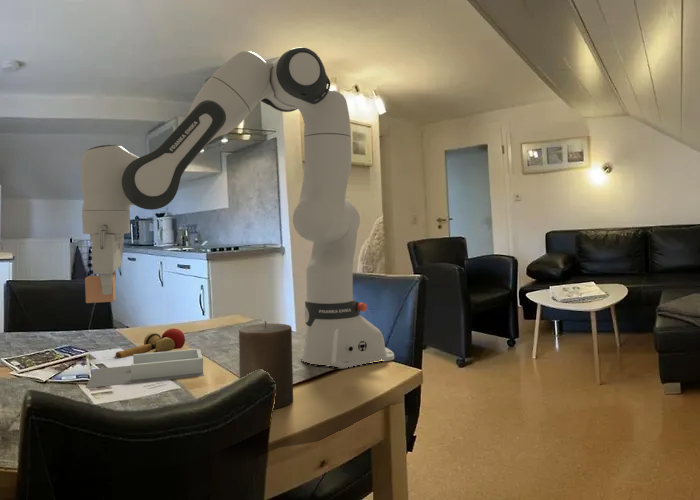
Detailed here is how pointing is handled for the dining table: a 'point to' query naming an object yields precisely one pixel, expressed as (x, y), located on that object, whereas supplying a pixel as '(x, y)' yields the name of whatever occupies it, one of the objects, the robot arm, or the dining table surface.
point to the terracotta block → (97, 290)
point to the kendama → (157, 343)
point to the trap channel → (151, 368)
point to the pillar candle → (269, 356)
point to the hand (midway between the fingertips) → (109, 292)
